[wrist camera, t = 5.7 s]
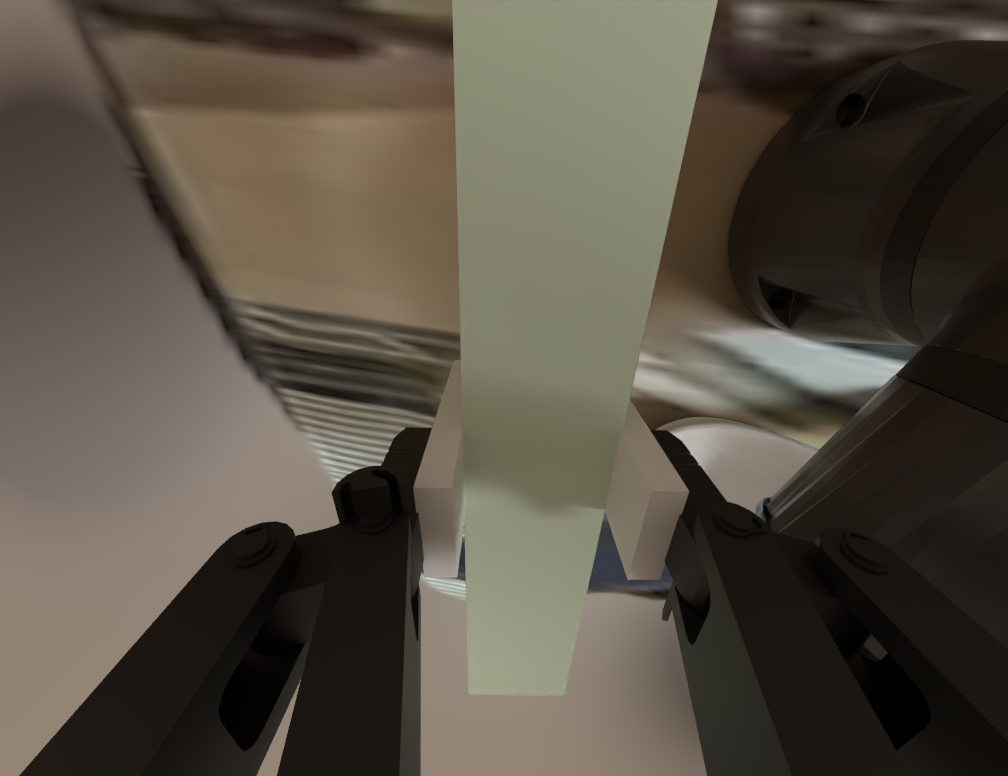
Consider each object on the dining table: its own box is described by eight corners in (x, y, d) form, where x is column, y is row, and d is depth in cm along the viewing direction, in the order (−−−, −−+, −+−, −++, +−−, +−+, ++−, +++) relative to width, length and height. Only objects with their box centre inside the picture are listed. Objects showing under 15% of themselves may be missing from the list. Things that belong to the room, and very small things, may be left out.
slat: (643, -62, 9) (794, -349, 4) (550, 583, 20) (563, 695, 15) (474, -71, 8) (443, -369, 4) (476, 582, 19) (468, 694, 15)
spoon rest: (616, 516, 35) (642, 586, 28) (597, 415, 29) (623, 474, 23) (884, 461, 32) (980, 526, 25) (915, 340, 27) (1045, 383, 20)
